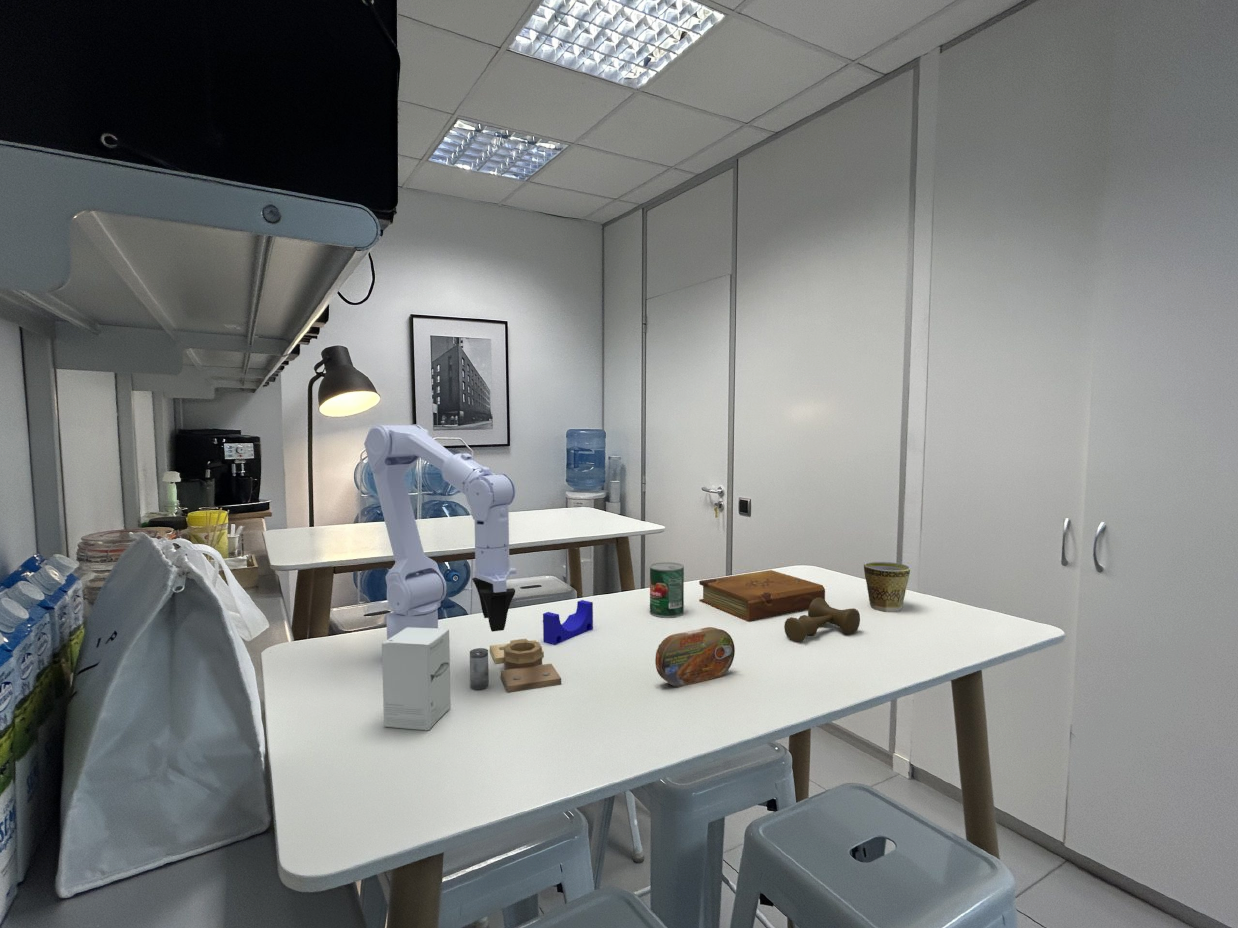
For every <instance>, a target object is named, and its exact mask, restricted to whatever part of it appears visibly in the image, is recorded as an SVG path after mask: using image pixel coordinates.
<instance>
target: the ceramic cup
mask: <svg viewBox="0 0 1238 928" xmlns="http://www.w3.org/2000/svg"><path fill="white" fill-rule="evenodd" d="M863 570H864V578H865V582H866V589H867V593H868V594H867V595H868V601H869V606H870V607H871V608H872V609H873V610H874V611H875V610H876V611H881V612H885V613H897V612H899V611H901V610H903V606H904V601H905V600H904V599H905V596H906V592H907V586H908V583H909V579H910V573H911V567H910V566H908V565H906V564H903V563H899V562H893V561H892V562H891V561H869V562H865V563H863Z"/></svg>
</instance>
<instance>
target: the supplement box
mask: <svg viewBox="0 0 1238 928" xmlns="http://www.w3.org/2000/svg"><path fill="white" fill-rule="evenodd" d="M450 652H451V651H450V629H449V628H438V629H437V628H410V627H407V628H405V629H403V630H402V631H400V632H399V633H397V634H396V635H394V636H393V637H391V638H389V639H388V640H387V639H386V640H384V641H383V642H382V643H381V654H382V655H381V656H382V657H381V659H382V660H381V662H382V664H381V665H382V694H383V695H382V698H383V701H382V702H383V703H382V704H383V705H382V706H383V727H385V728H397V729H407V730H419V731H430V730H431V729H432V727H434V725H435V724H436V723H437V722H438V721H439V720H440V719H441V718H442V717H443V716H444V715H445V714H446V713H447V712H448V711H449V710H450V709H451V706H452V702H451V700H452V699H451V659H450V658H451V657H450V656H451V654H450Z"/></svg>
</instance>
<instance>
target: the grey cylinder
mask: <svg viewBox="0 0 1238 928" xmlns="http://www.w3.org/2000/svg"><path fill="white" fill-rule="evenodd" d="M469 672H470V673H469V679H470V680H469V686H470V689H471V690H473V691H484V690H486V689H488V688H489V687H490V682H489V681H490V677H489V676H490V675H489V673H490V671H489V649H488V648H485V647H484V648H482V647H479V648H473V649H471V650H470V651H469Z"/></svg>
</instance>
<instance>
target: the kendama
mask: <svg viewBox="0 0 1238 928" xmlns="http://www.w3.org/2000/svg"><path fill="white" fill-rule="evenodd" d="M860 623H861V615H860V612H859V610H858V609H856V608H854V607H853V608H845V609H838V608H835V607H831V606H830V605H829V603H828V602H827V601H826V599H825V600H824V599H822V598H815V599H814V600H813V601H812V602H811V603H810V606H809V609H808V610H807V614H806V615H800V616H799V618H796V617H789V618H786V620H785V621H784V624H783V625H784V626H783V627H784V628H783V629H784V633H785V636H786V637H787V638H788V639H789V640H790V641H791V642H793V643H797V644H801V643H804V641H805V640H806V637H809V638H810V637H814V636H815V635H816V634H817V632H818V629H820V628H821V627H823V626H824V625H826V624H831V625H834V626H836V627H838V628H839V629H840V630H841V631H842V633H844V634H845V635H848V636H851V635H854V634H855V633H857V631H858V629H859V627H860Z"/></svg>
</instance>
